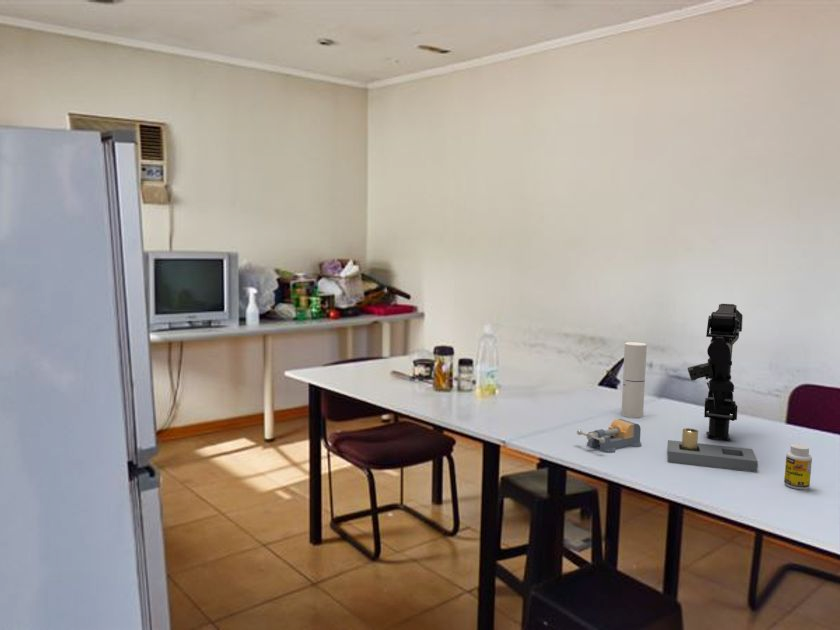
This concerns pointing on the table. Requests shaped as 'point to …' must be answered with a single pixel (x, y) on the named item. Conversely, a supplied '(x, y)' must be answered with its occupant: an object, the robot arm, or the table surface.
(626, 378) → the cylindrical container
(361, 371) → the table surface
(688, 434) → the cylinder
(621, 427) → the vise
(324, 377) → the table surface
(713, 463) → the jig
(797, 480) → the supplement bottle
